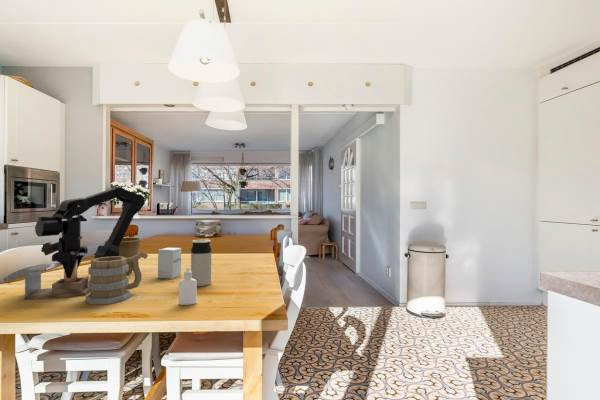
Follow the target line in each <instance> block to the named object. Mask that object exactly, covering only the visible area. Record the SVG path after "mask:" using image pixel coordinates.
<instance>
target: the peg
mask: <svg viewBox="0 0 600 400" xmlns="http://www.w3.org/2000/svg"><path fill="white" fill-rule="evenodd" d="M77 278H78V269H77V263H76V266H75V268H74V271H73V273H72V276H71V278H67V276H66V273H65V270H64V269H63V279H64V283H72V282H77Z"/></svg>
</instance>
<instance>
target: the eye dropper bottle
mask: <svg viewBox="0 0 600 400" xmlns="http://www.w3.org/2000/svg"><path fill="white" fill-rule="evenodd" d="M183 273H184V274H183V278H181V279H180V280H179V282H178V304H179V305H180V306H191V305H195V304H197V298H198V297H197V296H198V294H197V291H198V289H197V281H196V280H195V279H193V278H192V271H191V268H190V267H187V268H186V270H185V271H184V272H183Z"/></svg>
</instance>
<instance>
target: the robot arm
mask: <svg viewBox="0 0 600 400" xmlns="http://www.w3.org/2000/svg"><path fill="white" fill-rule="evenodd" d="M114 199H116V200H118V201H120V202H122V203H121V208H122V211H121V213H120V215H119V217H118V219H117V221H116V223H115V225H114V227H113V230H112V232H111V233H110V236H109V237H108V241H107V243H106V244H105V243H104V244H103V245H98V247H97V249H96V252H95V253H94V254H93V256H94V257H93V259H96V258H101V257H111V256H119V246H120V244H121V242H122V240H123V238H125V235H126V233H127V231H128V229H129V227H130V225H131V223H132V220H133V219H134V216H135V215H136V214H137V213H138V212H140V211H141V210H142V209H143V207H144V206H145V203H146V199H145V196H144V195H143V194H140V193H136V192H133V191H131V190H129V189H125V188H123V187H122V186H115V187H114V186H113V187H112V188H109V189H106V190H103V191H101V192H97V193H94V194H92V195H88V196H86V197H79V198H73V199H72V198H71V199H66V200H63V201H61V202H60V204H59V206H58V209H57V210H56V211H55V212H54V214H53V215H52V216H38V219H37V221H36V224H35V225H34V231H35V234H36V236H37V237H39V238H41V237H50V236H59V235H60V234H61V237H59V238H58V242H55V243H51V242H50V241H48V242H46V243H43V244H42V246H41V250H40V251H41V252H42V253H43V254H44V256H48V255H51V254H52V255H51V262H57V263H59V264H61V265H62V267H63V271H64V270H65V273H66V276H67V278H71V276H72V273H73V271H74V268H75V266H76V263H77V270H78V269H79V267H80V265H81V263H82V261H83V259H84V257H85V254H88V253H89V251H88V250H89V248H88V247H87V246H86V245H81V240H82V239H83V236H82V235H81V233H82V231H81V224H82V223H81V222H87V221H88V219H86V218H85V217H84V216H83V213H85V212H87V211H88V210H89V209H91V208H93V207H95V206H97V205H100V204H103V203H106V202H109V201H112V200H114ZM81 253H82V254H81Z"/></svg>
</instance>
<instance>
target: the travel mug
mask: <svg viewBox="0 0 600 400" xmlns="http://www.w3.org/2000/svg"><path fill="white" fill-rule="evenodd" d="M191 243H192V247H191V248H190V250H191V251H190V271H192V278H193V279H195V280H196V281H197V286H201V287H207V286H209V285H211V284H212V246H211V239H194V240H191Z"/></svg>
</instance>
